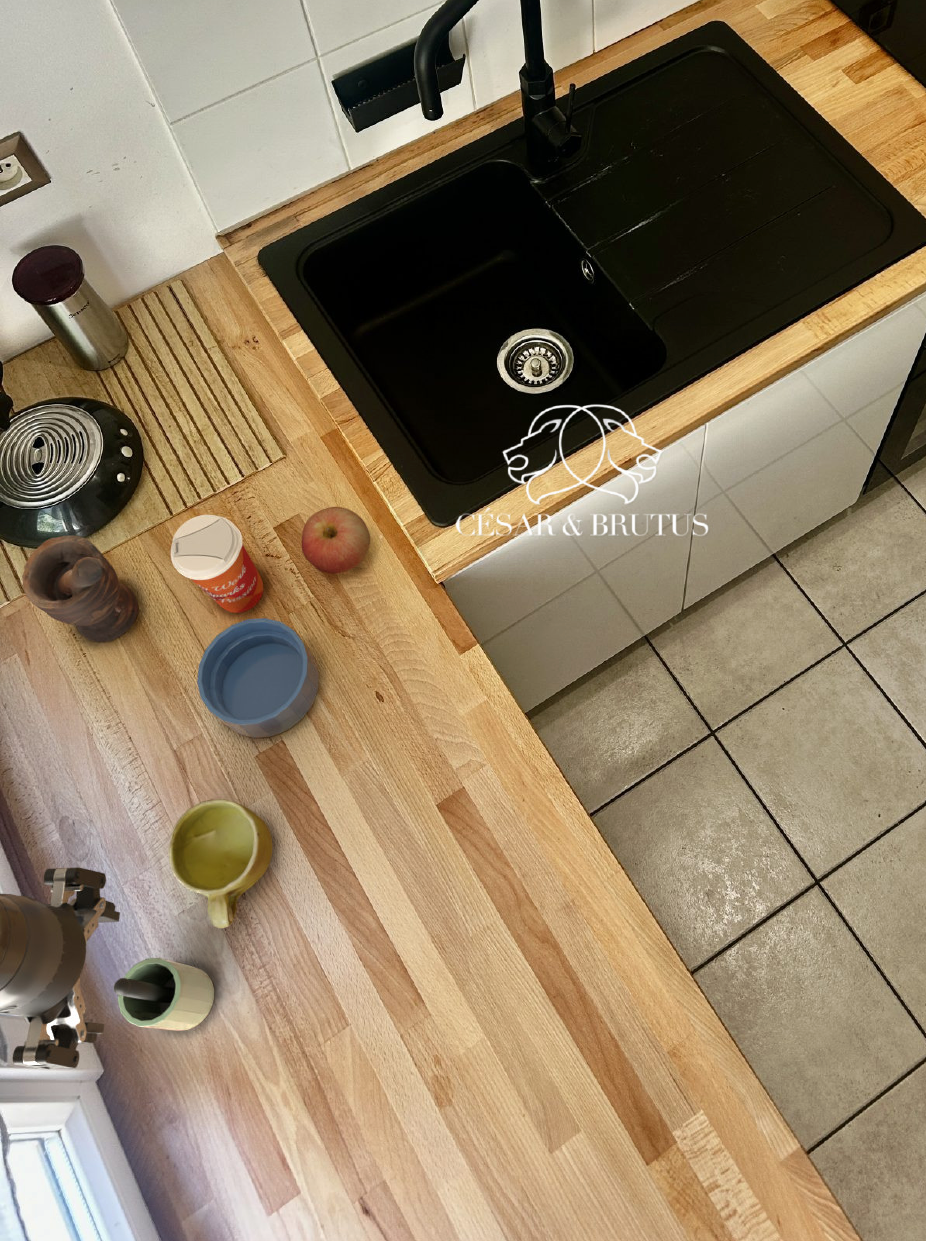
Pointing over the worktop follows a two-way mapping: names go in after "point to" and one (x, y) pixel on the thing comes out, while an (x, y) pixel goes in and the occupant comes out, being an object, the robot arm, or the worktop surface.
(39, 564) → the mortar and pestle
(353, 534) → the apple
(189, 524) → the paper cup
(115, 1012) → the worktop surface
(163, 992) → the black pestle
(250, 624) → the bowl
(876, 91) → the worktop surface
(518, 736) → the worktop surface
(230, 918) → the mug
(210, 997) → the utensil jar
